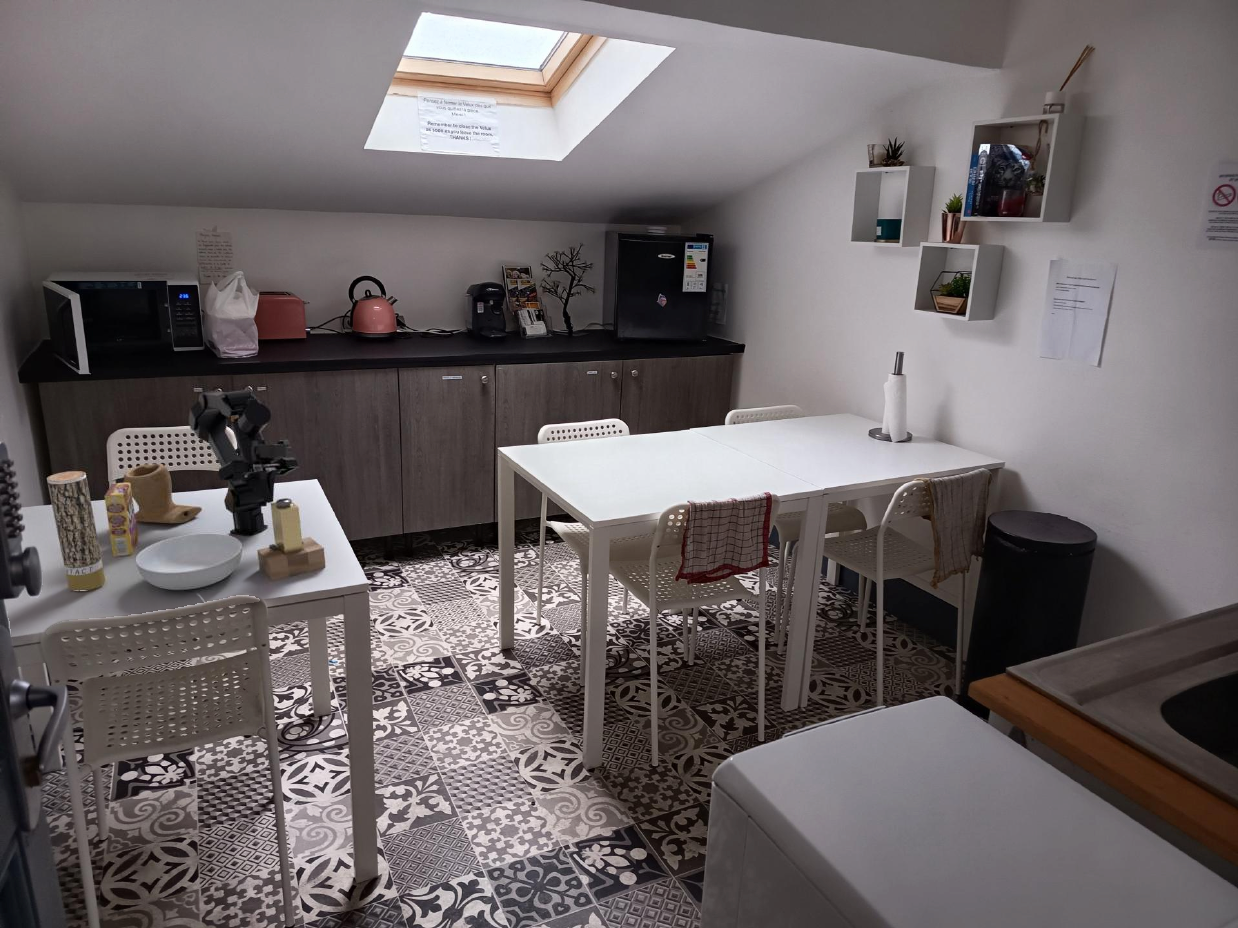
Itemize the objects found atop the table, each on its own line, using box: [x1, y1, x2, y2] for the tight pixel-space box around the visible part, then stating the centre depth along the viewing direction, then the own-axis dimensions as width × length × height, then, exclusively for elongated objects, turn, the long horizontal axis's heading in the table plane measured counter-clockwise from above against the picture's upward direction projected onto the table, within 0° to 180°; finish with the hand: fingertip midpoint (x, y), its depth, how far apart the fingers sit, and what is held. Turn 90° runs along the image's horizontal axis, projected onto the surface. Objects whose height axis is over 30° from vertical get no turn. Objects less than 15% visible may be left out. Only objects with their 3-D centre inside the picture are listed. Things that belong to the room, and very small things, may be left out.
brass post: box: [270, 497, 303, 555], centre depth 189 cm, size 6×4×16 cm, turn 41°
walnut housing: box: [257, 536, 327, 582], centre depth 190 cm, size 8×12×6 cm, turn 131°
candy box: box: [104, 482, 139, 557], centre depth 197 cm, size 9×4×15 cm, turn 20°
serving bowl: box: [135, 532, 243, 591], centre depth 184 cm, size 21×21×7 cm
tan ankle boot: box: [123, 462, 203, 524], centre depth 214 cm, size 15×12×15 cm
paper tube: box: [46, 470, 106, 591], centre depth 177 cm, size 7×7×25 cm
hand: (270, 502), depth 196 cm, fingers closed
